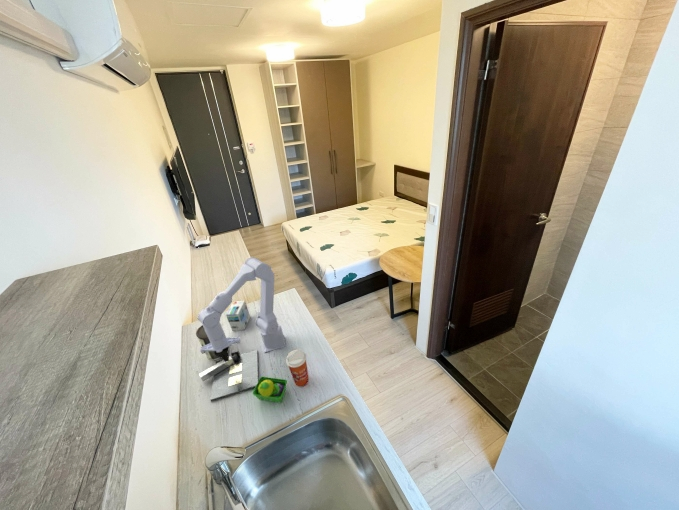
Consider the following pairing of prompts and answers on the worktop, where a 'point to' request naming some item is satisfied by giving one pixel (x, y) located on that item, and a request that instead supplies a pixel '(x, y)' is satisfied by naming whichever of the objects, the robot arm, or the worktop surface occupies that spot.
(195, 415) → the worktop surface
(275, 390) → the fruit basket
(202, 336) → the coffee can
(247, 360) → the chassis tray
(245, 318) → the light bulb box
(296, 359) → the paper cup
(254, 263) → the robot arm
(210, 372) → the swing bar
